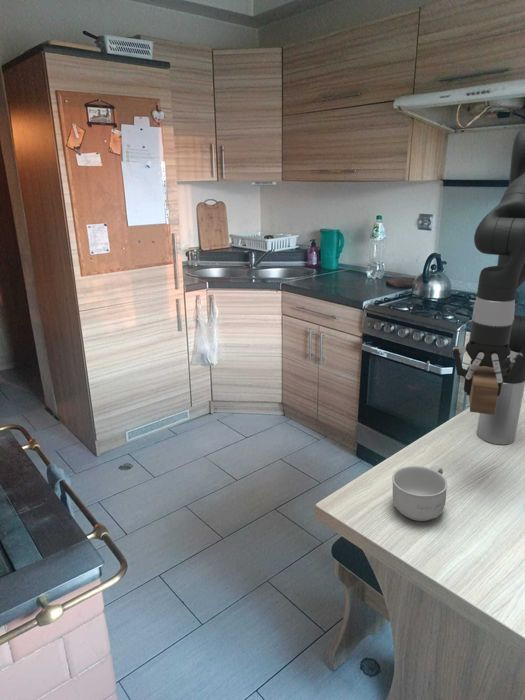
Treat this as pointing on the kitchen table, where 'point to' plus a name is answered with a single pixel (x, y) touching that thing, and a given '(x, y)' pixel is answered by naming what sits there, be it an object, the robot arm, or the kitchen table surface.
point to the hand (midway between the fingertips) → (480, 394)
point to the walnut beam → (483, 391)
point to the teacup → (419, 492)
